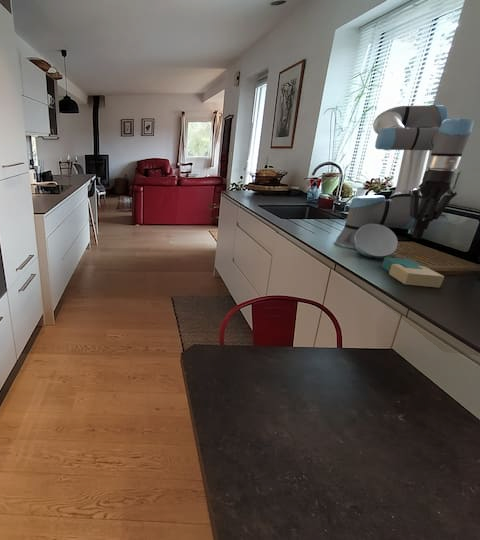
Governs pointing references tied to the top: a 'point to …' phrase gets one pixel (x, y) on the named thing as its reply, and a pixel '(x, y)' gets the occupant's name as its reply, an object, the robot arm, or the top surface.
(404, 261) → the teal star block
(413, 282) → the sand pad
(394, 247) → the chinaware
